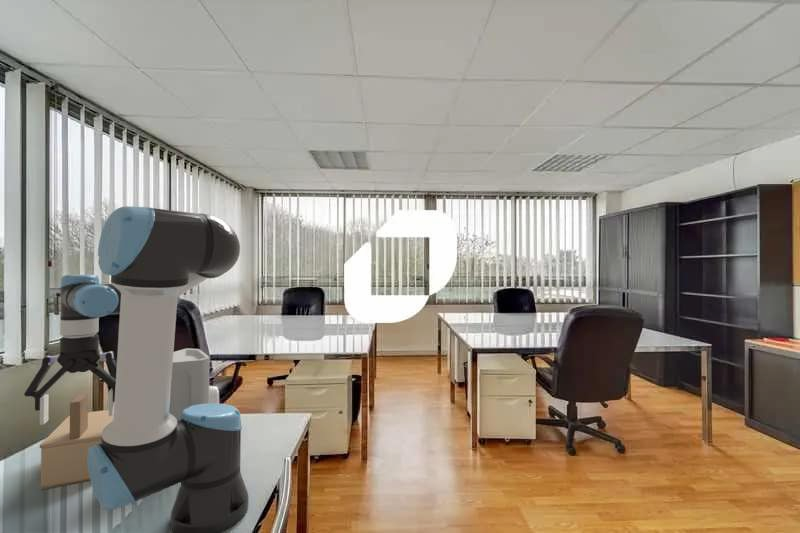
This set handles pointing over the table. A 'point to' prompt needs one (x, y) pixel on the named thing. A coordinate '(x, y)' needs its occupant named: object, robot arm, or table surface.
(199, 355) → the grey tapered bin
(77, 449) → the tan rectangular open box
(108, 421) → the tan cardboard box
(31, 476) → the table surface
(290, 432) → the table surface
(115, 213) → the robot arm
